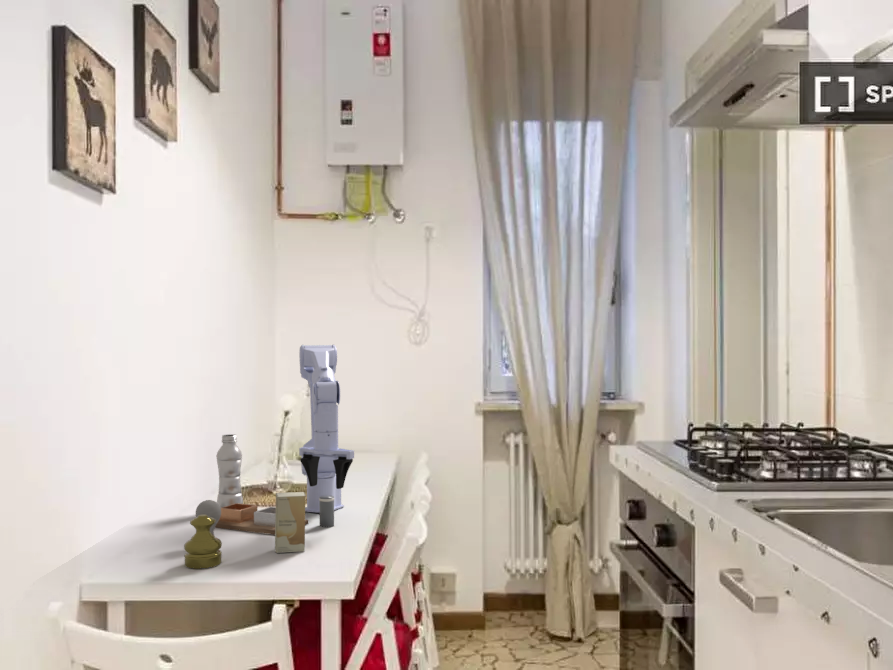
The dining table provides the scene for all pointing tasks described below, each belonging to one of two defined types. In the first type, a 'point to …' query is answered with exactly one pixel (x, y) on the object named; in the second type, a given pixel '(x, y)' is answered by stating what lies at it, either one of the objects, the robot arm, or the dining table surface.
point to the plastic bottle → (229, 472)
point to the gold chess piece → (202, 545)
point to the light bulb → (209, 511)
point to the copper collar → (238, 512)
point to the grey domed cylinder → (326, 511)
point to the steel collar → (265, 517)
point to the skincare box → (290, 522)
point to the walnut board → (248, 526)
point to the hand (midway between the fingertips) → (326, 486)
